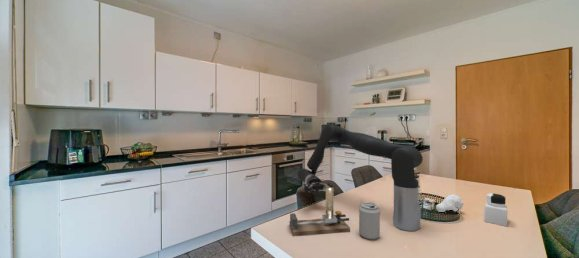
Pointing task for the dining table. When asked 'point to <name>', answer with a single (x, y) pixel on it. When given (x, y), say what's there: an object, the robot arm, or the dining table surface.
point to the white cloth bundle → (450, 203)
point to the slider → (331, 208)
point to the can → (369, 220)
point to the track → (317, 226)
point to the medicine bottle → (495, 209)
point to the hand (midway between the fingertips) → (322, 191)
